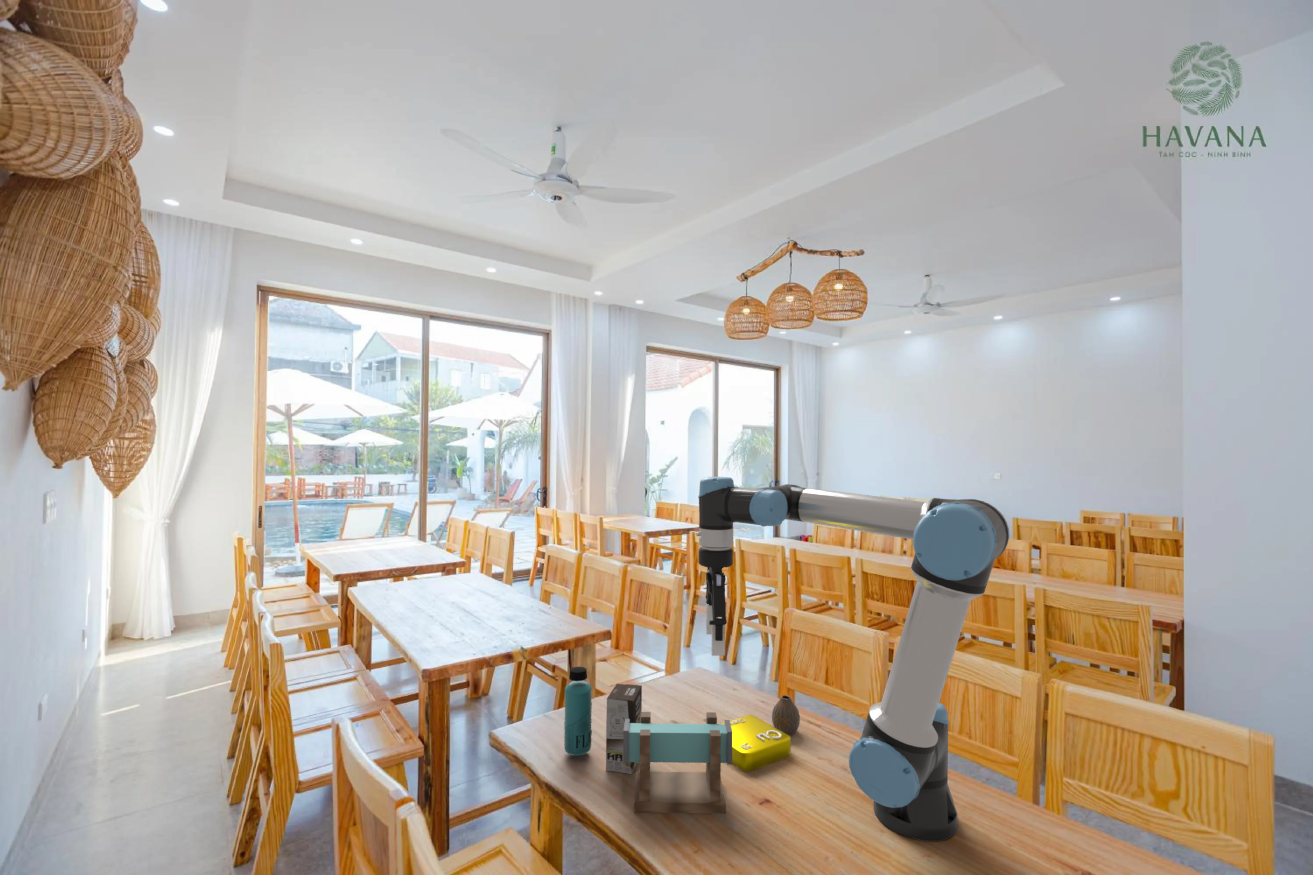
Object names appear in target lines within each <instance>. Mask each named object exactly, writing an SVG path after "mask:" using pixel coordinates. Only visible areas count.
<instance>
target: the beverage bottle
mask: <svg viewBox="0 0 1313 875" xmlns="http://www.w3.org/2000/svg"><path fill="white" fill-rule="evenodd" d="M587 678H588V673H587V668H586V667H584V666H574V667H571V668H570V669H569V677H568V679H569V680H571V681H570V682H569V683H568V684H567V685H566V686H565V688H564V723H563V724H564V725H563V726H564V727H563V728H564V734H563V735H564V737H563V739H564V740H563V745H564V747H563V748H564V752H566V754H568V755H571V756H582V755H585V754H587V753H588V752H589V751H590V750H591V748H592V742H593V741H592V739H593V738H592V736H593V734H592V732H593V730H592V724H593V722H592V708H593V702H592V698H593V697H592V685H591V684H590V683H589V682H587V681H585V680H587Z"/></svg>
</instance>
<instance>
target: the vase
mask: <svg viewBox="0 0 1313 875" xmlns="http://www.w3.org/2000/svg"><path fill="white" fill-rule="evenodd" d="M793 701H794V700H792V697H791V696H789V695H781V696H780V699H779V700H778V701H777V702H776V703H775V705H774V706H773V709H772V713H771V721H772V722H771V723H772V726H773V727H775V728H777V729H779V730H780V731H782V732H784V733H785V734H787V735H789V736H792V735H794V734H796V733H797V731H798V730H799V727H800V724H801V717H800V712H799V709H798V707H797V706H796V704H795V703H794V702H793Z"/></svg>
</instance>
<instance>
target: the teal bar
mask: <svg viewBox="0 0 1313 875" xmlns="http://www.w3.org/2000/svg"><path fill="white" fill-rule="evenodd" d="M730 721H731V720H730V719H724V723H725V724H721V723H717V724H706V723H662V722H661V723H657V722H656V723H653V722H651V723H630V719H625V723H624V733H623V764H628V762H637V763H640V729H642V730H650V763H686V764H689V763H691V764H693V763H694V764H699V763H700V764H701V763H702V764H703V763H705V764H706V763H709V758H710V730H720V734H721V764H727V766H731V765H733V764H732V728H731V724H730Z"/></svg>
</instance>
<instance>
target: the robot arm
mask: <svg viewBox="0 0 1313 875" xmlns="http://www.w3.org/2000/svg"><path fill="white" fill-rule="evenodd" d="M698 508H699V509H698V512H699V517H698V520H699V523H698V530H699V531H696V533H695V535H696V537H698V545H699V546H700V547H699V549H698V564H699V565H700V566H701V567H704V568H707V569H706V570H707V571H706V572H705V580H706V581H705V582H706V584H705V585H706V588H705V589H706V590H705V599H706V600H705V603H706V609H705V612H706V619H705V620H706V621H705V626H706V627H705V628H706V630H705V633H706V635H711V656H712V657H713V656H717V657H718V656H719V657H720V656H722V657H725V655H726V624H727V621H728V620H727V612H726V611H727V610H726V607H727V606H726V575H725V573H724V571H723V569H724V568H729V567H731V566H733V564H734V550H733V548H732V547H733V546H734V523H739V524H749V525H753V526H754V525H755V526H756V525H757V526H761V527H778V526H781V525H782V523H783V522H784V521H786V520H789V521H793V522H800V523H801V522H802V523H803V522H804V523H809V524H810V523H811V524H815V525H821V526H822V525H823V526H827V527H835V528H840V529H845V530H853V531H858V532H865V533H871V534H877V535H884V536H889V537H895V538H896V537H897V538H900V539H901V538H902V539H908V540H912V544H913V550H914V556H913V559H912V562H911V563H912V564H911V566H910V572H911V573H912V574H913V576H914V578H915V580H916V584H915V587H914V589H913V590H914V591H913V594H912V597H911V600H910V604H909V608H908V610H907V614H906V617H905V621H904V625H903V627H902V630H901V634H900V639H899V641H898V645H897V648H896V651H895V655H894V658H893V661H892V665H891V668H890V672H889V675H888V679H887V681H886V685H885V689H884V693H883V696H882V699H881V701H880V702H876V703H873V704H872V705H871V706H870V707H869V710H868V713H867V716H866V719H865V720H866V721H865V722H864V726H863V730H862V733H861V736H860V738H859V739H858V740H856V741H855V742H854V743H853V745H852V747H851V750H850V752H849V755H848V766H849V770H850V773H851V775H852V777H853V778H854V780H855V783H856V785H857V786H858V788H859V789H860V790H861V791H862V792H863V794H865V795H866V796H867V797H868V798H870V800H872V801H873V812H874V814H875V816H876V818H878V820H879V821H880V822H881V823H882V824H883V825H884V826H886V827H887V828H888V829H890V830H891V831H894V832H896V833H897V834H899V835H902V836H904V837H907V838H910V839H914V840H917V841H923V842H939V841H941V842H942V841H946V840H948V839H950V838H952V837H954V836H955V834H956V833H957V832H958V828H959V826H958V825H959V824H958V822H959V821H958V820H959V817H958V812H957V808H956V806H955V805H956V804H955V802H954V799H953V796H952V792H951V789H950V787H949V782H948V779H949V776H948V775H949V774H948V773H949V725H950V721H949V714H948V713H949V712H948V709H947V708H946V706H945V705H944V704H942V703H941V702H940V700H941V697H942V695H943V694H942V693H943V691H944V687H945V685H946V681H947V677H948V675H949V671H950V668H951V665H952V662H953V658H954V655H955V652H956V649H957V646H958V642H959V639H960V636H961V632H962V629H963V626H964V624H965V620H966V617H967V613H968V610H969V608H970V604H971V601H972V600H973V599H977V598H978V597H981V596H983V595H984V594H985V591H986V588H987V585H988V582H989V579H990V577H991V573H992V570H993V567H994V564H995V562H996V560H997V559H999V557H1000V556H1001V555H1002V554H1004V552H1005V550H1006V548H1007V547H1008V544H1009V540H1010V529H1009V525H1008V522H1007V520H1006V518H1005V517H1004V515H1003V514H1002V513H1001V511H1000V510H998V508H996V506H994V505H993V504H991V503H987V502H985V501H983V500H979V499H976V498H970V499H969V498H967V499H966V498H965V499H955V498H954V499H949V498H940V497H939V498H938V497H931V499H929V500H928V501H920V500H919V501H918V500H910V499H901V498H895V497H894V498H893V497H886V496H885V497H884V496H877V495H868V494H859V493H851V492H842V491H835V490H826V489H818V488H809V487H807V488H806V487H802V486H800V485H798V484H797V485H796V484H790V483H789V484H787V483H786V484H782V485H777V486H768V487H758V488H757V487H756V488H751V487H750V488H748V487H736V486H735V484H734V479H733V478H732V477H728V476H703V477H702V478H701V479H700V481H699V492H698Z"/></svg>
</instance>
